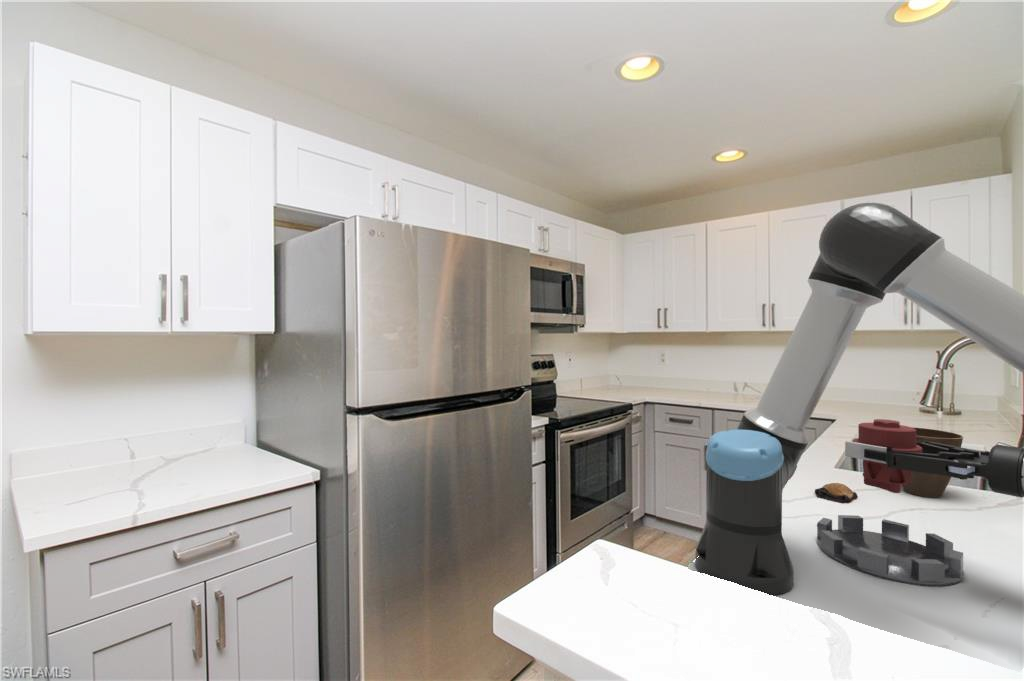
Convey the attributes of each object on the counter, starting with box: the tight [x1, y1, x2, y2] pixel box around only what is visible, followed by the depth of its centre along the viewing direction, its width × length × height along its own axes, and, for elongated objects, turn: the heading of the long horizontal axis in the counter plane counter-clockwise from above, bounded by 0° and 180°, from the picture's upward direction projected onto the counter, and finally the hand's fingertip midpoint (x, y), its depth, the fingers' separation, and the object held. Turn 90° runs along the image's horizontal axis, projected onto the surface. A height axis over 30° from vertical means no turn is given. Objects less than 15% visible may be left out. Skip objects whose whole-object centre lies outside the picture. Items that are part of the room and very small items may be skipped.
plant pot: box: [901, 426, 964, 499], centre depth 122 cm, size 15×15×16 cm
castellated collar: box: [816, 514, 965, 587], centre depth 86 cm, size 21×21×4 cm
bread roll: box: [814, 482, 859, 504], centre depth 119 cm, size 11×8×4 cm
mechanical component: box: [852, 418, 922, 494], centre depth 86 cm, size 12×10×10 cm
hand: (859, 445), depth 90 cm, fingers closed on mechanical component, 10 cm apart
